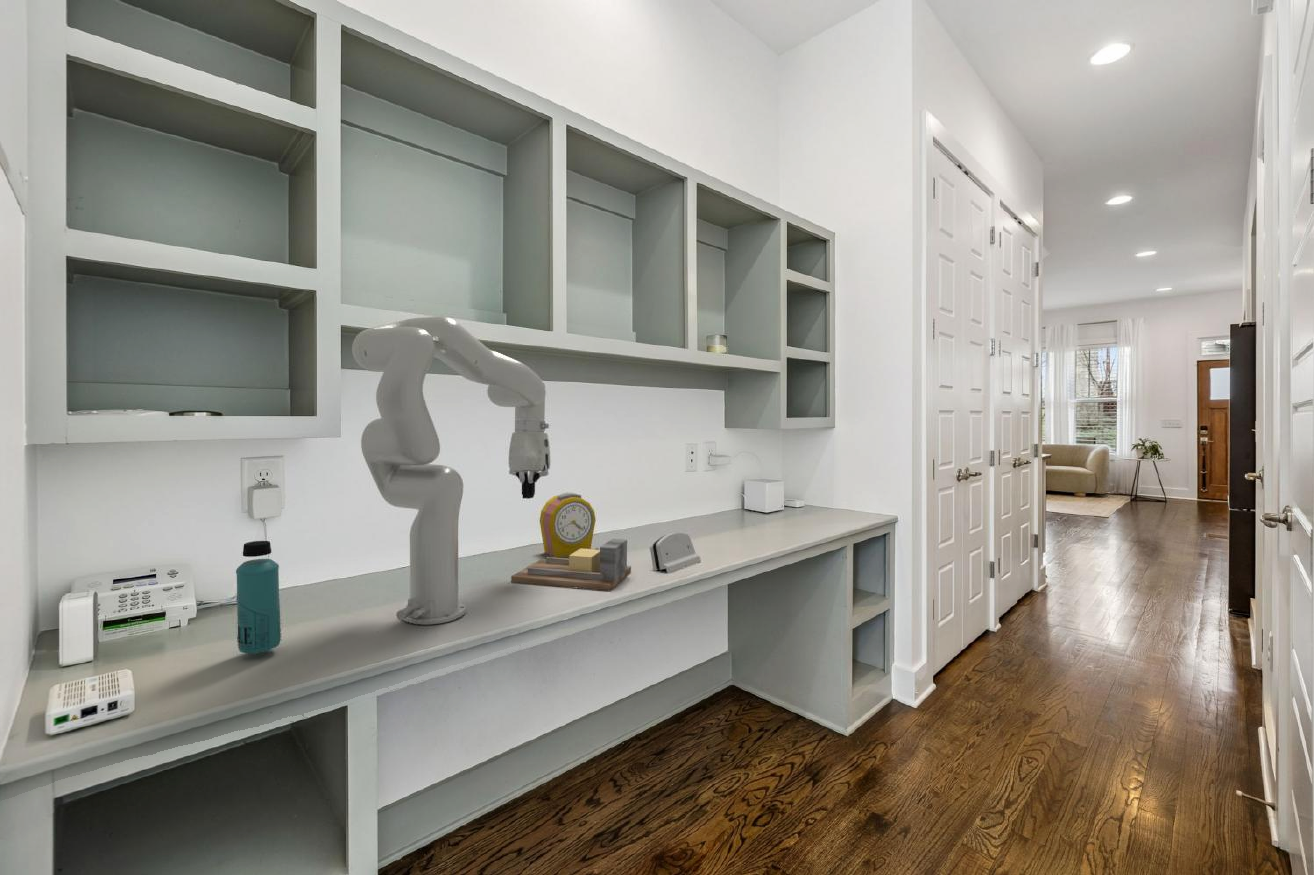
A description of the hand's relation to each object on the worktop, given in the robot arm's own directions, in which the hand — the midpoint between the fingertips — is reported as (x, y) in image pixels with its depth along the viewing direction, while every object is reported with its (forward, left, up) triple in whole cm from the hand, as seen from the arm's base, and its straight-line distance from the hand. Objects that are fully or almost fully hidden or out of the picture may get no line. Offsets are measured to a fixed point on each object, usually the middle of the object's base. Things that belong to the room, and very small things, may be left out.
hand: (528, 497), depth 155 cm
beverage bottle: (-59, +22, -21) cm, 66 cm away
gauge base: (+2, -12, -20) cm, 24 cm away
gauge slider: (+4, -15, -19) cm, 25 cm away
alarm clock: (+25, -1, -21) cm, 33 cm away
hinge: (+21, -35, -21) cm, 45 cm away
